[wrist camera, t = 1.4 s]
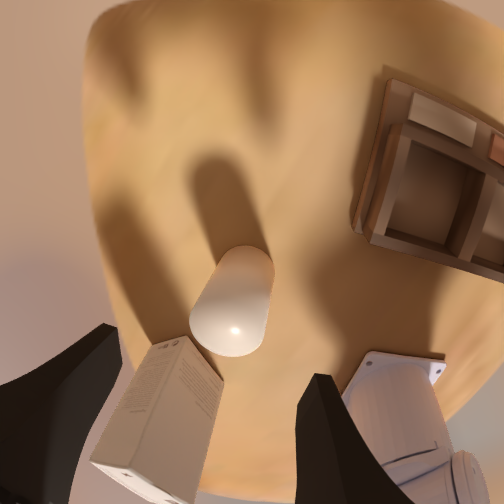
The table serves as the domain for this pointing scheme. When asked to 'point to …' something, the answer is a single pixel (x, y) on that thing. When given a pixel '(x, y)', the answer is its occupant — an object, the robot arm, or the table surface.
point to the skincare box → (163, 425)
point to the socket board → (435, 184)
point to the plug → (235, 303)
